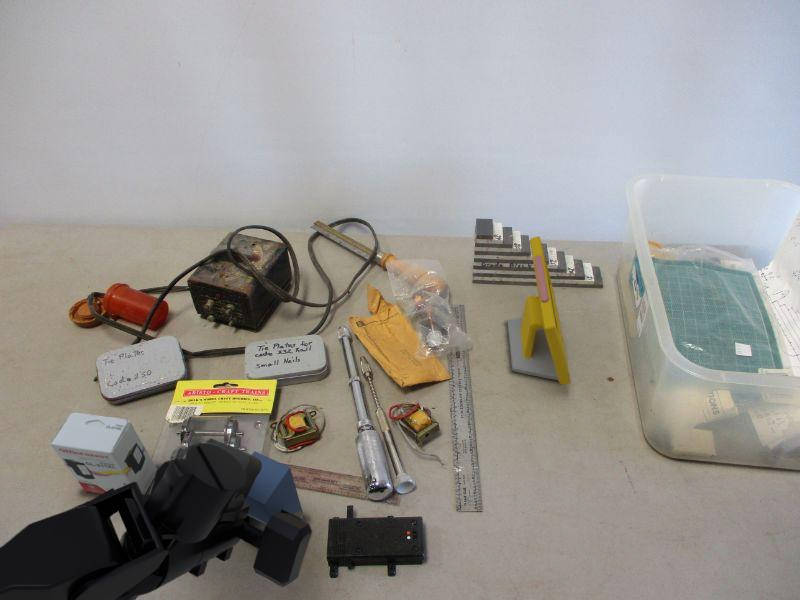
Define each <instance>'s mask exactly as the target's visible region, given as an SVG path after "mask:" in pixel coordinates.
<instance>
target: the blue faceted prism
mask: <svg viewBox="0 0 800 600" xmlns="http://www.w3.org/2000/svg"><path fill="white" fill-rule="evenodd" d="M251 455H253V456H255V457H257V458H259V459H260V460H261V463H262V468H261V471H260V473H259V474H258V475H257V477H256V479H255V481H254V483H253V485H252V488H251V490H250V492H249V494H248V496H247V498H246V499H245V500H244V502H245V503H247V504H249V505H250V508H249V512H248V514H250V515H252V516H254V517H256V518H258V519H260V520H262V521H264V522H266V523H268V522H269V520H270V519H271V517H272V516H273V515H275V514H276V513H280V512H281V509H283V510H285V511H287V512H289V513H291V514H292V513H294V512H297V511H302V512H304V511H303V508H302V504H301V501H300V497H299V493H298V490H297V487H296V483H295V480H294V476H293V473H292V472H293V471H292V469H291V466H288V465H286V464H284V463H281V462H280V461H277V460H276V459H273V458H271V457H269V456H266V455H264V454H262V453H260V452H257V451H255V450H254V451H253V452H252V454H251ZM302 520H303V521H304V522H306V517H305V515H304V513H303V516H302Z"/></svg>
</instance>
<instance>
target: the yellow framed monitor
mask: <svg viewBox="0 0 800 600" xmlns="http://www.w3.org/2000/svg"><path fill="white" fill-rule="evenodd" d="M529 244H530V250H531V256H532V263H533V269H534V275H535V283H536V287H537V295H530V296H528V297H527V298H526V299H525V303H524V310H523V314H522V317H521V318H520V317H519V318H515V319H514V318H512V319H508V320H507V332H508V333H507V334H508V343H509V352H510V361H511V363H510V365H511V371H512V372H514V373H517V374H523V375H528V376H534V377H539V378H542V379H543V378H544V379H550V380H554V381H558V382H559V385H560V386H564V385H568V384H571V382H572V381H571V375H570V371H569V370H570V369H569V366H568V360H567V354H566V349H565V344H564V338H563V333H562V328H561V323H560V322H561V321H560V318H559V311H558V307H557V301H556V295H555V291H554V287H553V282H552V279H551V275H550V271H549V268H548V264H547V259H546V254H545V252H544V248H543V244H542V239H541V237H540V236H534V237H531V238H530V239H529Z"/></svg>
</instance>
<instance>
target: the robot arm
mask: <svg viewBox="0 0 800 600" xmlns="http://www.w3.org/2000/svg"><path fill="white" fill-rule="evenodd" d="M261 468H262V463H261V460H260V459H259V458H257V457H255V456H253V455H252V454H251V453H249V452H247V451H244V450H242V449H240V448H238V447H236V446H233V445H231V444H227V443H226V442H225V443H224V442H221V441H218V440H216V439H214V438H208V440H206V442H204V443H203V442H195V443H194V444H190V445H188V446H186V447H185V449H184V451H183V453H182V455H181V457H180V458H173V459H170V460H167V461H164V462H163V463H161V464H160V465H159V467H158V468H157V470H156V473H155V476H154V478H153V480H152V482H151V487H150V490H149V492H150V493H148V494H146V493H145V494H144V495H143V494H142V492H141V490H140V488H139V485H138V483H137V482H132V483H130V484H127V485H125V486H123V487H120V488H118V489H116V490H114V488H112V489H110V490H108V491H106V492H105V493H103V494H99V495H97V496H95V497H94V498H92V499H90V500H87V501H85V502H84V503H81V504H79V505H76V506H74V507H72V508H69V509H67V510H64V511H61V512H59V513H55V514H53V515H50V516H47V517H45V518H42V519H39V520H36V521H34V522H31V523H28V524H27V525H26V526H25V527H23V528H22V529H21V530H20V531H19V532H17V533H16V534H15V535H14V536H12V537H10V539H8V540H7V541H6V542H5V543H4V544H2V545H1V546H0V600H137V598H138V597H140V596H144V595H147V594H150V593H152V592H154V591H156V590H158V589H160V588H162V587H163V586H165V585H167V584H169V583H171V582H173V581H174V580H176V579H179V578H180V577H181V576H183V575H185V574H187V573H189V574H191V575H192V576H193V577H194V576H195V577H196V578H199V577H200V576H202V575H204V574H205V572H206V568H207V564H208V562H209V561H211V560H212V559H214V558H216V559H218V560H219V561H222V562H223V563H224V562H227V561H228V560H230V559H231V556H232V553H233V550H234V547H235V546H237V545H238V543H239V542H240V541H244V542H246V543H247V544H249V545H251V546H253V547H254V548H257V552H256V555H255V558H254V562H253V565H252V569H253V571H254V573H255V574H257V575H259V576H260V577H262V578H265V579H266V580H267V581H270V582H271V583H274V584H275V585H277V586H279V587H281V588H284V587H287V586H288V585H290V584H292V583H293V582H294V581H296V580H297V579H298V578H299V576H300V572H301V569H302V566H303V562H304V559H305V556H306V553H307V549H308V547H309V543H310V539H311V537H312V533H313V530H312V527H311V525H310V523H308V522H306V521H303V520H302V516H303V514H304V511H303V510H302V511H303V512H302V511H297V512H294V513H292V514H291V513H289V512H287V511H285V510H283V509H281V512H280V513H276V514H275V515H273V516H272V517H271V519H270V520H269V522H268V523H266V522H264V521H262V520H260V519H258V518H256V517H254V516H252V515H250V514H248V512H249V508H250V505H249V504H247V503H245V502H244V500H245V499H246V498H247V496H248V494H249V492H250V490H251V488H252V485H253V483H254V481H255V479H256V477H257V475H258V474H259V473H260V471H261ZM117 513H118V514H119V516H120V518H121V521H122V524H123V526H124V528H125V530H126V531H125V532H124V533H123V534H122V536H121V537H120V538H119V536H118V534H117V531H116V528H115V526H114V524H113V521H112V516H114V515H115V514H117Z"/></svg>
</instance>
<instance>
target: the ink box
mask: <svg viewBox="0 0 800 600" xmlns="http://www.w3.org/2000/svg"><path fill="white" fill-rule="evenodd" d="M49 445H50V446H51V448H52V449H53V450H54V451H55V453H56V454H57V455H58V457H59V458H60V459H61V461H62V462H63V464H64V465H65V466H66V468H67V469H68V470H69V472H70V473H71V474H72V476H73V477H74V478H75V480H76V481H77V483H78V484H79V485H80V486H81V488H82V489H83V490H84V492H86V493H92V494H99V495H101V494H103V493H105V492H106V491H108V490H110V489H112V488H114V490H116V489H118V488H120V487H123V486H125V485H127V484H130V483H132V482H137V483H138V485H139V488H140V490H141V492H142V494H143V495H144V494H146V493H147V491H148V490H149V488H150V486H151V485H152V483H153V480H154V476H155V473H156V470H157V469H158V468H157V466H156V465H155V463H154V461H153V460H152V458H151V456H150V454H149V452H148V450H147V449H146V447H145V446H144V444H143V441H142V439H141V438H140V436H139V435H138V433H137V431H136V430H135V427H134V426H133V424H132V422H131V421H130V420H127V419H125V418H119V417H113V416H111V417H109V416H104V415H97V414H96V415H95V414H89V413H82V412H77V411H76V412H72V413H69V414H68V415H67V417H66V418H65V419H64V421H63V422H62V424H61V425H60V427H59V428H58V430H57V431H56V432H55V435H54V436H53V438H52V439H51V441H50V443H49Z"/></svg>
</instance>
